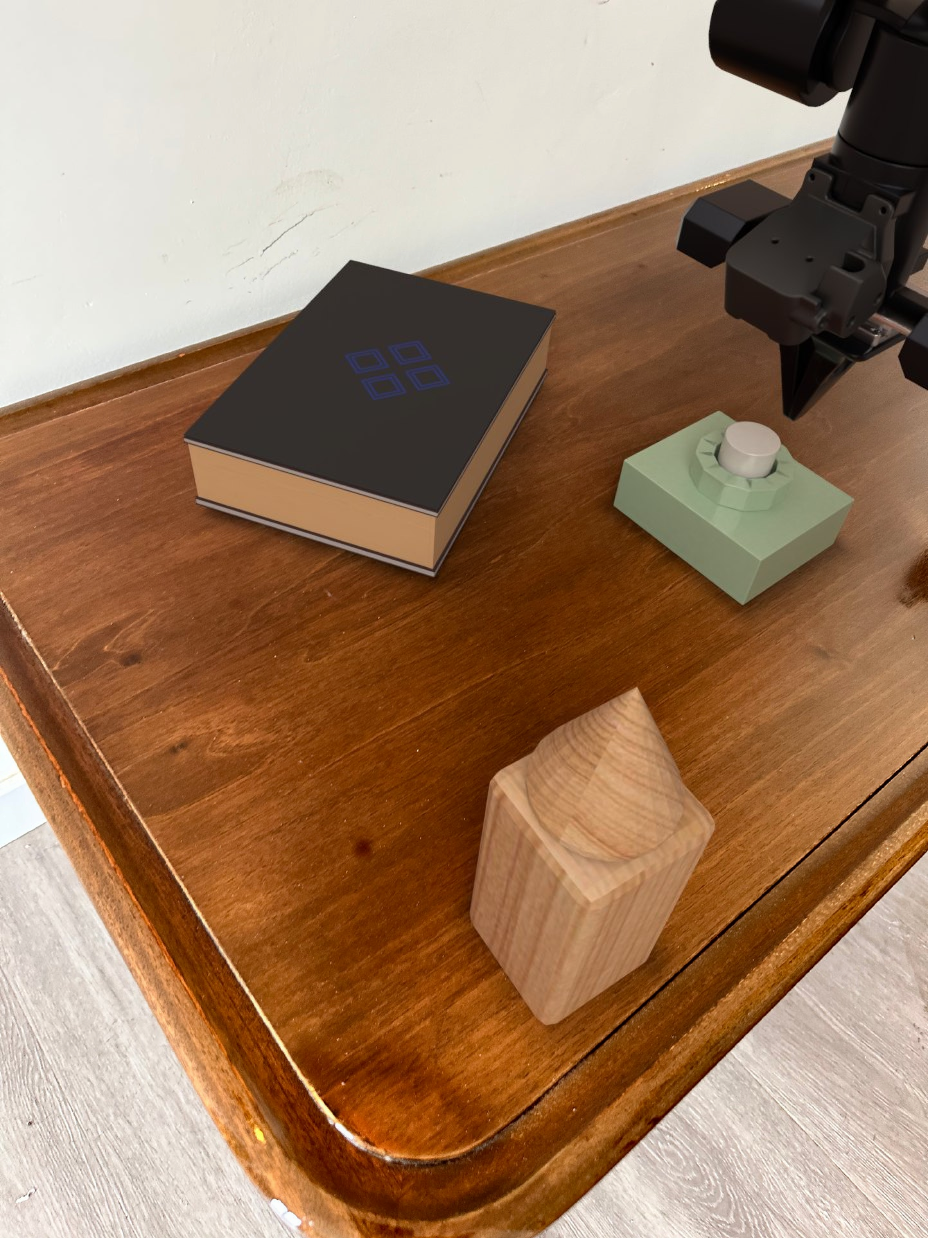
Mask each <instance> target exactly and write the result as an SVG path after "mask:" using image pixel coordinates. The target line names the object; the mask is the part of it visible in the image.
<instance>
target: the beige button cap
mask: <svg viewBox="0 0 928 1238" xmlns="http://www.w3.org/2000/svg"><path fill="white" fill-rule="evenodd" d="M736 422H737V423H734V424H732V425H730V426H729V427H728V428H727V429H726V432H725V435H724V438H723V441H722V444H721V447H720V450H719V453H718V462H719V464H720V466H721V467H722V468H724V469H725V470H727V471H728V472H730V473H731V474H733V475H736V476H740V477H743V478H747V479H756V478H764V477H766V476H767V475H768V474H769V473H770V472H771V470H772V467H773V464H774V462H775V459H776V457H777V454H778V452H779V449H780V446H781V444H782V441H781V439H780V436H779V435H778V434H777V433H776V432H775V430H773V429H772V428H770V427H768V426H767V425H764V424H762V423H759V422H754V421H736Z"/></svg>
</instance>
